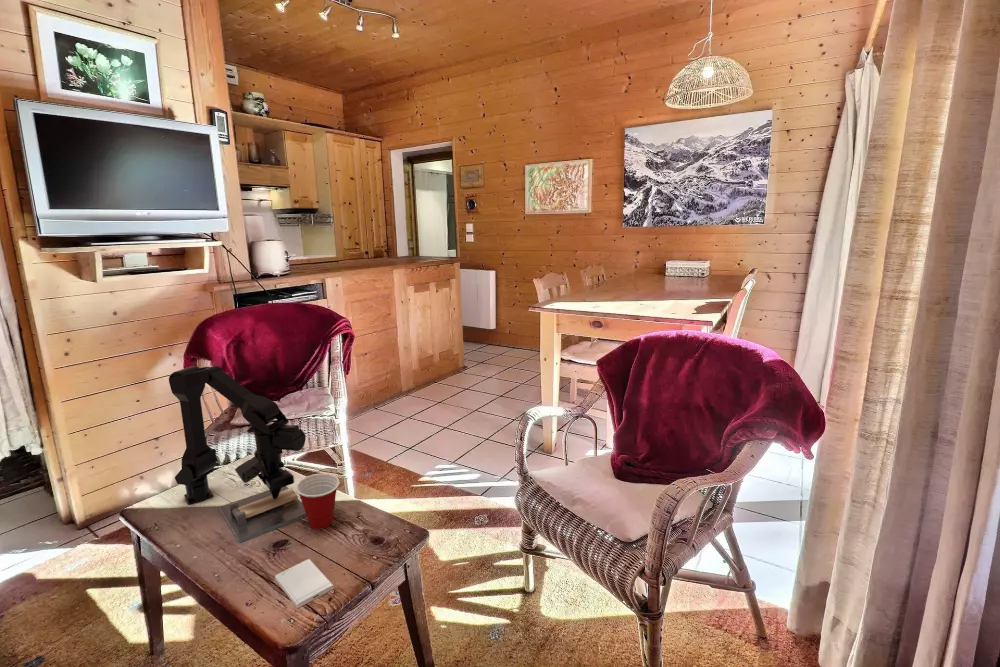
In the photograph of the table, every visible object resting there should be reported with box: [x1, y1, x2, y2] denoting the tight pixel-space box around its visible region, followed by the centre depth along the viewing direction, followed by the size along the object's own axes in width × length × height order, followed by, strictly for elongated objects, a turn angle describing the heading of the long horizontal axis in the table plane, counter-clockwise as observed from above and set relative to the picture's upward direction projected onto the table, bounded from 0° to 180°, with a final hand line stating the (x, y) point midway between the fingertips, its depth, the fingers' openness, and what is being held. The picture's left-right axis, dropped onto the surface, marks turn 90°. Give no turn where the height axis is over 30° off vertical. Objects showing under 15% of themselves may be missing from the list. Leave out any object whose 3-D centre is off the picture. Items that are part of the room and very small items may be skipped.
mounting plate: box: [219, 485, 307, 544], centre depth 139 cm, size 20×18×4 cm
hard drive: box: [274, 558, 335, 609], centre depth 112 cm, size 2×8×12 cm
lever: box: [232, 487, 299, 520], centre depth 140 cm, size 5×16×2 cm, turn 131°
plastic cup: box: [295, 472, 340, 530], centre depth 133 cm, size 11×11×12 cm
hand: (275, 498), depth 141 cm, fingers closed
